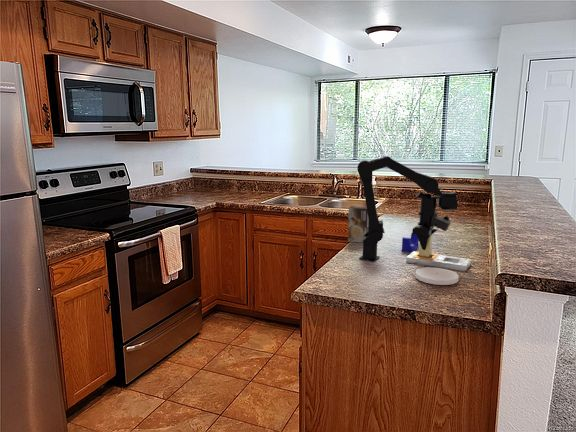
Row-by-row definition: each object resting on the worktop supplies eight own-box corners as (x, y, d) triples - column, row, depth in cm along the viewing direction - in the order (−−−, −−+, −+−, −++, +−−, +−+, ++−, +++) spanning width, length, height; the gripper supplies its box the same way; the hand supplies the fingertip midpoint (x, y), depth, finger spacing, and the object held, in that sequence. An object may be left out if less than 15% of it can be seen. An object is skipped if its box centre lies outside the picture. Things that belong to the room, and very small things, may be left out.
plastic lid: (466, 286, 144) (467, 278, 143) (428, 289, 141) (428, 281, 140) (443, 273, 157) (443, 266, 157) (408, 275, 154) (408, 268, 154)
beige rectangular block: (429, 258, 167) (430, 235, 166) (418, 256, 169) (419, 234, 168) (431, 255, 171) (433, 233, 169) (421, 254, 173) (422, 232, 171)
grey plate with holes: (465, 271, 158) (466, 265, 158) (406, 261, 169) (406, 256, 169) (470, 264, 166) (470, 258, 166) (413, 255, 178) (413, 250, 177)
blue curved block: (411, 253, 183) (412, 239, 182) (401, 251, 185) (402, 237, 184) (421, 247, 192) (422, 233, 191) (411, 245, 195) (412, 232, 194)
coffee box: (369, 240, 204) (370, 206, 201) (367, 243, 198) (368, 208, 195) (350, 238, 207) (351, 205, 204) (347, 241, 201) (348, 207, 198)
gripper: (444, 215, 155) (441, 257, 158) (454, 207, 170) (452, 246, 173) (413, 212, 160) (410, 253, 163) (426, 205, 176) (423, 242, 179)
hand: (425, 248), depth 169 cm, fingers closed on beige rectangular block, 4 cm apart
